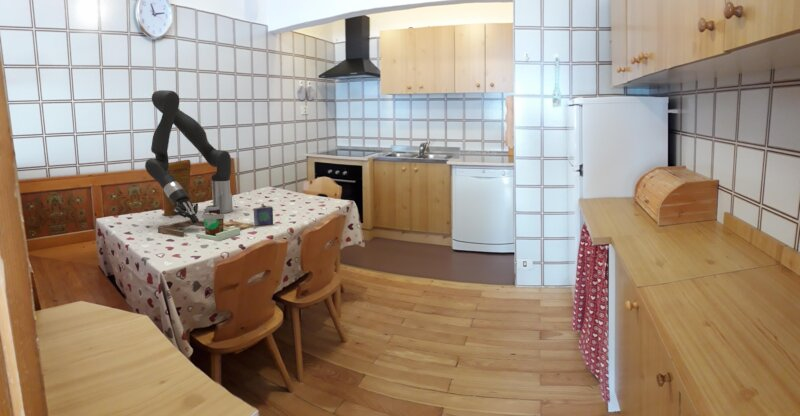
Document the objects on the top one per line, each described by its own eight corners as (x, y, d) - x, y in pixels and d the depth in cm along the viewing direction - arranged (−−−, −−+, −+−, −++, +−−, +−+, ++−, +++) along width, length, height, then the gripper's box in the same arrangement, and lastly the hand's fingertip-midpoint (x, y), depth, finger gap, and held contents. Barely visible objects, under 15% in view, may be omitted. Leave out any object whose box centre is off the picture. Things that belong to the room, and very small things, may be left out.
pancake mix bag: (197, 211, 279) (194, 159, 273) (167, 217, 263) (163, 163, 257) (189, 209, 282) (185, 158, 277) (158, 216, 266) (154, 162, 260)
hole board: (232, 222, 254) (232, 220, 254) (253, 226, 248) (253, 224, 248) (210, 228, 242) (210, 226, 242) (232, 232, 236) (232, 230, 236)
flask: (255, 226, 248) (254, 204, 245) (253, 225, 250) (252, 203, 248) (273, 224, 252) (273, 203, 250) (272, 223, 255) (271, 202, 252)
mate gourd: (202, 222, 253) (200, 192, 250) (213, 219, 261) (212, 190, 258) (214, 224, 251) (213, 194, 248) (225, 221, 258) (224, 191, 255)
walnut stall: (192, 223, 251) (192, 219, 251) (215, 227, 244) (215, 223, 244) (158, 232, 234) (157, 227, 234) (181, 236, 227) (181, 232, 227)
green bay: (218, 230, 239) (218, 224, 238) (240, 234, 233) (239, 227, 233) (196, 236, 228) (195, 230, 227) (218, 240, 222) (217, 234, 221)
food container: (196, 233, 233) (195, 212, 231) (208, 231, 238) (207, 209, 236) (213, 238, 226) (212, 216, 224) (225, 235, 231) (224, 213, 229)
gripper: (167, 190, 231) (188, 220, 228) (191, 186, 243) (211, 214, 240) (160, 200, 234) (181, 230, 232) (183, 196, 246) (204, 224, 243)
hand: (196, 222), depth 236 cm, fingers closed
